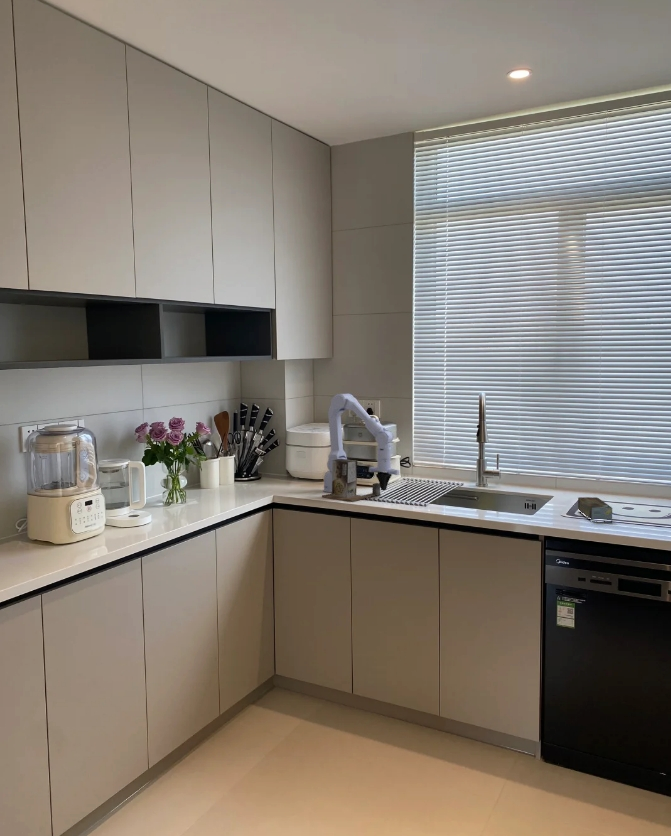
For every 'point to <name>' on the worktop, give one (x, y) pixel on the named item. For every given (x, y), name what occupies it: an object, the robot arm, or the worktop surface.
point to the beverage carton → (594, 508)
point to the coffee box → (344, 478)
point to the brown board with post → (374, 492)
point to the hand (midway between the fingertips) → (383, 489)
